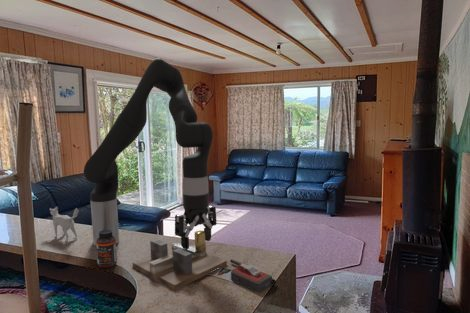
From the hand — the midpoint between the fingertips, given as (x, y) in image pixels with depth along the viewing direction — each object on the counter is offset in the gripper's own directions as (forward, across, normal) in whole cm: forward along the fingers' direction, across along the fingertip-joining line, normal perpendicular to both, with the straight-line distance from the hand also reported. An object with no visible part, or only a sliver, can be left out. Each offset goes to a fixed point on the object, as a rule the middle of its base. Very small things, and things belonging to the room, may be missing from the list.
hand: (196, 244), depth 103 cm
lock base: (+10, 0, +10) cm, 14 cm away
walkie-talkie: (+11, +10, -11) cm, 18 cm away
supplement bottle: (+11, -14, +29) cm, 34 cm away
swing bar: (+4, +1, +5) cm, 6 cm away
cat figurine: (+11, -13, +63) cm, 66 cm away
